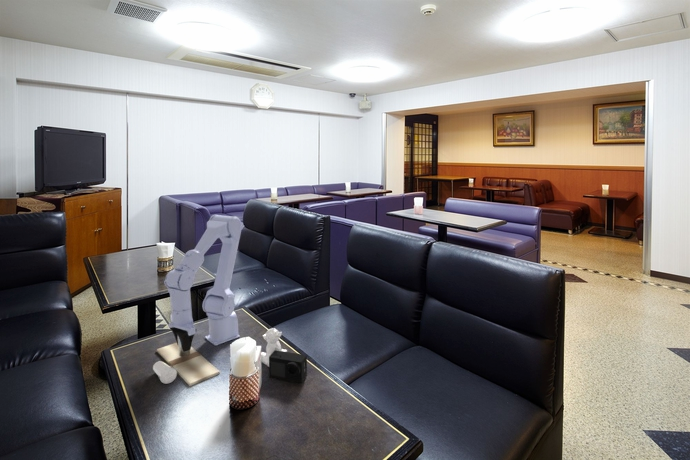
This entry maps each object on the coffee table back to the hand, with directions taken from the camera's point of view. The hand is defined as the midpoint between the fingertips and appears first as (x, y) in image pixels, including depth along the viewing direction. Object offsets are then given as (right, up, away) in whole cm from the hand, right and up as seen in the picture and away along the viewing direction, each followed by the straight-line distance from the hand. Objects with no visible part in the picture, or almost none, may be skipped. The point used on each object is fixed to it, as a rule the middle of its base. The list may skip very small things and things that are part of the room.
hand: (184, 348), depth 119 cm
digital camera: (+34, -7, -7) cm, 35 cm away
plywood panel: (+1, -4, 0) cm, 5 cm away
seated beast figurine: (+28, -5, +1) cm, 29 cm away
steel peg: (0, -2, 0) cm, 2 cm away
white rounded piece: (-5, -4, -5) cm, 8 cm away
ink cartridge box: (+25, -8, -13) cm, 29 cm away
